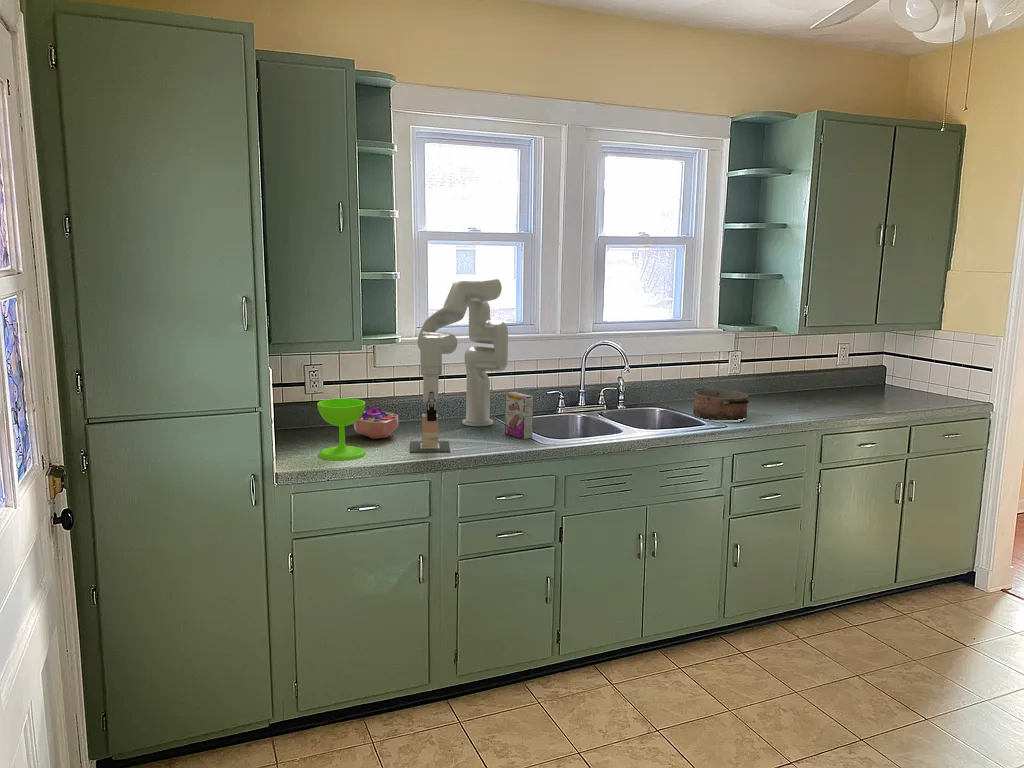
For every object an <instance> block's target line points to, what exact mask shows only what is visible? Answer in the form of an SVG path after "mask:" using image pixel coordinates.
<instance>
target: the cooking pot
mask: <svg viewBox="0 0 1024 768" xmlns="http://www.w3.org/2000/svg"><path fill="white" fill-rule="evenodd" d="M693 402H694V403H693V416H694V415H695V416H697V417H700V418H703V419H709V420H738V419H743V418H746V419H747V417H748V416H747V414H748V404H750V403H749V402H750V401H749V395H748V394H747V393H745V392H741V391H737V390H732V389H730V390H729V389H722V388H721V389H719V388H717V389H715V388H714V389H713V388H697V389H695V392H694V401H693ZM695 416H694V417H695Z"/></svg>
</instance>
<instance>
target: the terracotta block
mask: <svg viewBox="0 0 1024 768" xmlns="http://www.w3.org/2000/svg"><path fill="white" fill-rule="evenodd" d="M430 432H438V433H439V415H438V413H436V421H427V413H422V414H421V434H422V433H430Z"/></svg>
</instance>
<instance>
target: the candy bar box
mask: <svg viewBox="0 0 1024 768" xmlns="http://www.w3.org/2000/svg"><path fill="white" fill-rule="evenodd" d="M504 411H505V412H504V421H505V422H504V424H505V425H504V434H505V435H507V436H511V437H514V438H517V439H520V440H528V439H529V440H530V439H532V438H533V432H534V431H533V429H534V428H533V425H534V396H533V395H528V394H525V393H521V392H517V391H510V392H505V410H504Z"/></svg>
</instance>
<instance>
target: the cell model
mask: <svg viewBox="0 0 1024 768" xmlns="http://www.w3.org/2000/svg"><path fill="white" fill-rule="evenodd" d="M398 427H399V415H398V414H396V413H393V412H391V411H385V410H381V408H380V407H378V406H376V405H372V406H369V407H368V408H367V409H366V410H365V411H363V414H362V416H361V417H360V418H359V419H358V420H357V421H356V422H354V423H353V428H354V430H355V432H356V433H357V434H360V435H361V436H366V437H368V438H370V439H372V440H377V439H385V438H388V437H389V436H390V435H391V434H392V432H394V431H395V430H396V429H397V428H398Z"/></svg>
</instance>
